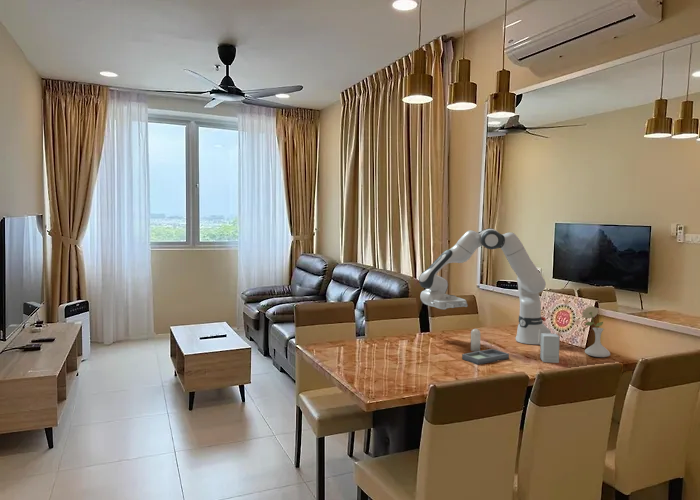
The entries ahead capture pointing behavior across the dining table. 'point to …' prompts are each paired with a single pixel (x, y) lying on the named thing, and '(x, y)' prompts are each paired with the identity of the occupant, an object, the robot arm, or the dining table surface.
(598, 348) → the flower in vase
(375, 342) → the dining table surface
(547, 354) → the supplement box
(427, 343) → the dining table surface
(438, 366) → the dining table surface
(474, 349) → the white round-topped cylinder
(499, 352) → the caddy
